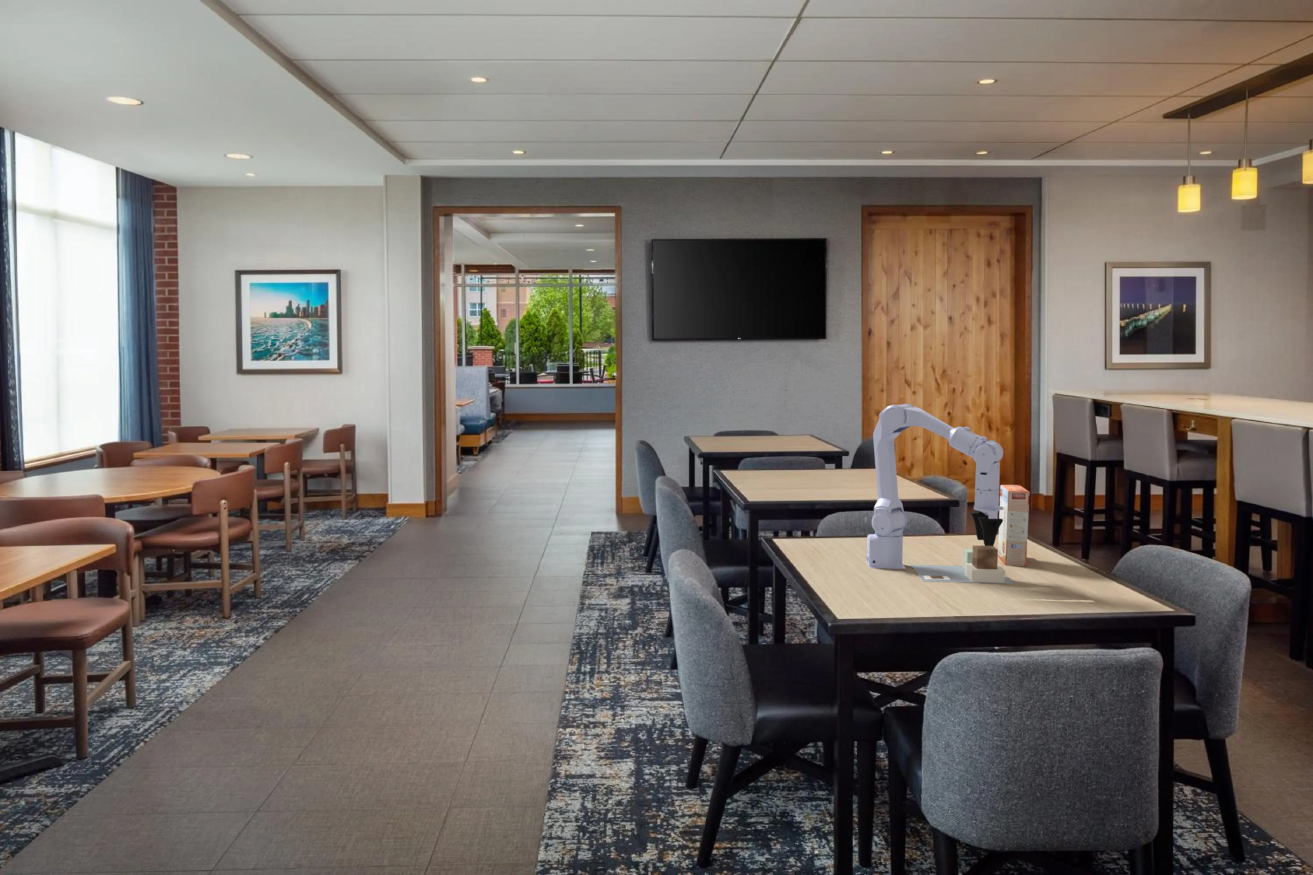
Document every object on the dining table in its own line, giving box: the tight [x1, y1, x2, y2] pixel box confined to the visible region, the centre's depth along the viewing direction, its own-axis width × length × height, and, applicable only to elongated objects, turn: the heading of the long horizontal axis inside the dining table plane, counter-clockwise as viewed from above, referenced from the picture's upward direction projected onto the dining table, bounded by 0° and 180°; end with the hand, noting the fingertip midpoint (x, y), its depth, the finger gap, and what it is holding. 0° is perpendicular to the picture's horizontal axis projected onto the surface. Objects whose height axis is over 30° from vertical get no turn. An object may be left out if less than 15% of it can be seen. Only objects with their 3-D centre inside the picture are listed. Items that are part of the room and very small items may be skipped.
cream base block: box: [965, 563, 1006, 582], centre depth 249 cm, size 8×8×3 cm
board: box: [910, 564, 1014, 585], centre depth 255 cm, size 22×20×1 cm
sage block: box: [962, 548, 973, 569], centre depth 260 cm, size 5×5×5 cm
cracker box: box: [997, 484, 1030, 567], centre depth 271 cm, size 14×6×21 cm, turn 168°
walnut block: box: [972, 545, 999, 569], centre depth 249 cm, size 5×5×5 cm
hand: (985, 542), depth 248 cm, fingers open, 7 cm apart
